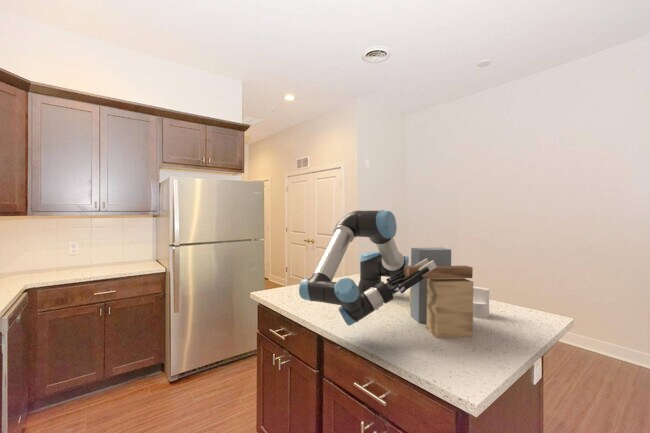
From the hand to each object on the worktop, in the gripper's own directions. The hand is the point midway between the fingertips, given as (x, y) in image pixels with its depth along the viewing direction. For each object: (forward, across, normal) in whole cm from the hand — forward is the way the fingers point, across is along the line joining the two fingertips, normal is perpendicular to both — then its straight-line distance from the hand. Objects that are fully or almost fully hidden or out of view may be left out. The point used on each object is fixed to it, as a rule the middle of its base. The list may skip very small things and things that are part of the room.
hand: (431, 262), depth 113 cm
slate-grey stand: (-7, -15, -27) cm, 31 cm away
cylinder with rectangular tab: (+14, -18, -39) cm, 45 cm away
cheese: (-5, -27, -28) cm, 39 cm away
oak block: (-7, 0, -27) cm, 28 cm away
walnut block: (0, 0, -6) cm, 6 cm away
